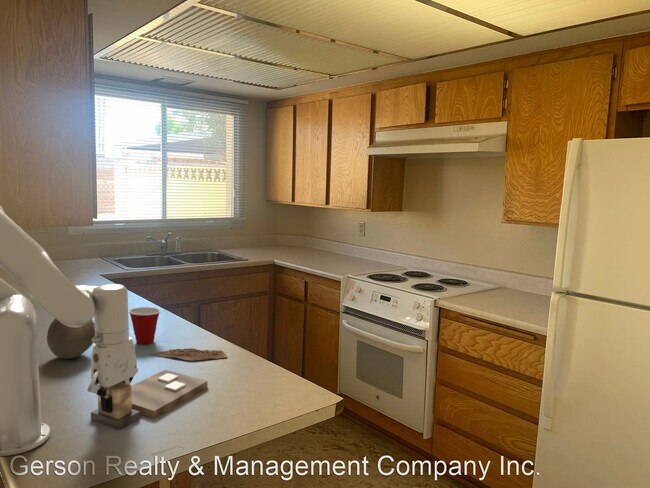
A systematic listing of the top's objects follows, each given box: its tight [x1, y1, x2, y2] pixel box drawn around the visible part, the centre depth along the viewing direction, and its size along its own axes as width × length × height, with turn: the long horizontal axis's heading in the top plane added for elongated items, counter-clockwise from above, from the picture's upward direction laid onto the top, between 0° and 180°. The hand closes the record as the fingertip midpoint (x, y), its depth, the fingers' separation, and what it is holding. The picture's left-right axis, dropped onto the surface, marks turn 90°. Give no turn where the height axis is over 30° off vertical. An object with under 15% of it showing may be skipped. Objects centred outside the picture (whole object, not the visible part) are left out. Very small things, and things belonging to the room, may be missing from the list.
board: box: [131, 369, 208, 419], centre depth 132 cm, size 20×16×2 cm
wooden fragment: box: [150, 347, 228, 362], centre depth 161 cm, size 26×11×1 cm, turn 85°
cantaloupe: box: [46, 318, 95, 360], centre depth 156 cm, size 14×14×15 cm
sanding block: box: [90, 382, 141, 431], centre depth 119 cm, size 6×10×9 cm, turn 64°
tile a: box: [164, 381, 186, 392], centre depth 133 cm, size 4×4×1 cm
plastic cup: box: [128, 306, 162, 346], centre depth 172 cm, size 11×11×12 cm
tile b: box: [158, 373, 178, 383], centre depth 138 cm, size 4×4×1 cm
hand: (115, 406), depth 119 cm, fingers closed on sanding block, 4 cm apart
